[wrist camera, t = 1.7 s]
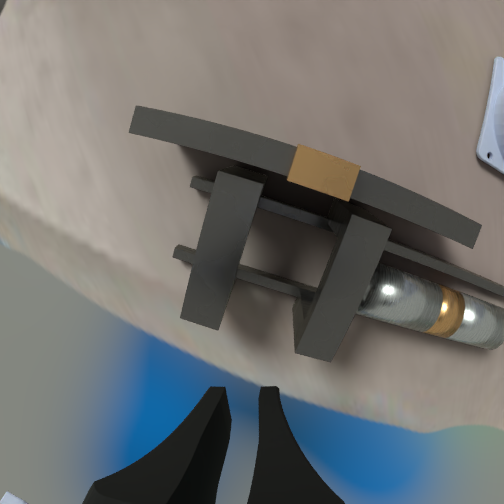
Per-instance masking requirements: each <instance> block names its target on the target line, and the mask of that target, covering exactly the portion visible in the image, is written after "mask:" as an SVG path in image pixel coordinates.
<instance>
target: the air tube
mask: <svg viewBox="0 0 504 504" xmlns="http://www.w3.org/2000/svg"><path fill="white" fill-rule="evenodd" d="M356 314H360V315H363V316H367V317H370V318H374V319H377V320H381V321H384V322H388V323H391V324H395V325H398V326H402V327H406V328H409V329H413V330H417V331H420V332H424V333H428V334H431V335H435V336H439V337H443V338H446V339H450V340H454V341H458V342H462V343H466V344H469V345H473V346H477V347H481V348H485V349H489V350H493V349H496V348H497V347H499V346H500V345H501V344H502V343H503V342H504V308H502V307H499V306H496V305H494V304H491V303H488V302H486V301H483V300H481V299H478V298H475V297H473V296H470V295H467V294H465V293H462V292H459V291H456V290H454V289H451V288H448V287H446V286H443V285H440V284H437V283H435V282H432V281H429V280H426V279H423V278H421V277H418V276H415V275H412V274H409V273H407V272H404V271H401V270H398V269H395V268H392V267H390V266H387V265H384V264H381V263H378V265H377V267H376V269H375V272H374V274H373V276H372V278H371V281H370V283H369V285H368V287H367V290H366V292H365V294H364V296H363V298H362V301H361V303H360V305H359V307H358V309H357V311H356Z"/></svg>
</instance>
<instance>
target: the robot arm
mask: <svg viewBox="0 0 504 504" xmlns="http://www.w3.org/2000/svg"><path fill="white" fill-rule="evenodd" d="M476 153H477V156H478V158H479V159H481V160H482V161H484V162H485V163H487V164H488V165H490V166H492V167H493V168H495V169H496V170H498V171H499V172H501V173H502V174H504V58H502V57H496V58H495V60H494V66H493V73H492V80H491V86H490V91H489V97H488V102H487V107H486V112H485V116H484V121H483V125H482V129H481V134H480V138H479V142H478V145H477V150H476ZM487 153H489V155H490V157H489V159H488V158H487ZM231 421H232V419H231V415H230V409H229V404H228V399H227V395H226V388H225V387H210V388H209V389H208V390H207V391H206V393H205V394H204V396H203V397H202V399H201V400H200V401H199V402H198V404H197V405H196V406H195V407H194V409H193V410H192V411H191V413H190V414H189V415H188V416H187V417H186V418H185V419H184V421H183V422H182V423H181V424H180V425H179V426H178V427H177V428H176V429H175V430H174V431H173V433H171V434H170V435H169V436H168V437H167V438H166V439H165V440H164V441H163V442H162V443H160V444H159V445H158V446H157V447H156V448H155V449H153V450H152V451H151V452H149V453H148V454H146V455H145V456H144V457H142V458H141V459H139V460H138V461H136V462H134V463H133V464H131V465H129V466H127V467H126V468H124V469H122V470H120V471H118V472H116V473H114V474H112V475H109V476H107V477H105V478H102V479H100V480H97V481H95V482H94V483H93V485H92V486H91V488H90V489H89V491H88V493H87V495H86V497H85V499H84V501H83V503H82V504H215V502H216V493H217V488H218V483H219V479H220V476H221V471H222V468H223V464H224V460H225V456H226V452H227V448H228V444H229V440H230V431H231ZM0 504H28V503H27V502H25V501H24V500H22V499H20V498H19V497H17V496H15V495H13V494H11V493H10V492H6V493H5V495H4V496H3V498H2V499H1V501H0ZM247 504H345V503H344V501H343V500H342V499H340V498H339V497H338V496H337V495H336V494H335V493H334V492H333V491H332V490H331V489H330V488H329V486H328V485H327V484H326V483H325V482H324V481H323V480H322V479H321V477H320V476H319V475H318V474H317V472H316V471H315V470H314V469H313V467H312V466H311V464H310V463H309V461H308V460H307V459H306V457H305V455H304V454H303V452H302V451H301V449H300V447H299V445H298V444H297V442H296V440H295V438H294V436H293V434H292V432H291V430H290V427H289V425H288V422H287V420H286V417H285V415H284V412H283V409H282V405H281V401H280V394H279V388H278V387H277V386H269V387H261V389H260V394H259V444H258V451H257V458H256V464H255V469H254V476H253V480H252V485H251V490H250V495H249V498H248V502H247Z"/></svg>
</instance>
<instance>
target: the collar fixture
mask: <svg viewBox="0 0 504 504" xmlns="http://www.w3.org/2000/svg"><path fill="white" fill-rule="evenodd" d="M129 133H132V134H136V135H141V136H145V137H149V138H154V139H158V140H162V141H166V142H170V143H174V144H178V145H182V146H186V147H190V148H194V149H197V150H201V151H205V152H208V153H212V154H216V155H219V156H223V157H226V158H230V159H233V160H237V161H240V162H243V163H247V164H250V165H253V166H257V167H260V168H263V169H266V170H270V171H273V172H276V173H279V174H282V175H285V176H287V181H290V182H293V183H296V184H299V185H302V186H305V187H308V188H311V189H314V190H317V191H320V192H323V193H326V194H329V195H331V196H334V197H337V198H340V199H343V200H345V201H348V202H349V199H350V198H352V199H354V200H357V201H360V202H362V203H365V204H368V205H370V206H373V207H375V208H378V209H381V210H383V211H386V212H388V213H391V214H393V215H396V216H398V217H401V218H403V219H405V220H408V221H410V222H413V223H415V224H417V225H420V226H422V227H425V228H427V229H429V230H432V231H434V232H436V233H438V234H441V235H443V236H445V237H447V238H450V239H452V240H454V241H456V242H459V243H461V244H463V245H465V246H467V247H469V248H472V249H473V247H474V245H475V242H476V240H477V237H478V234H479V232H480V229H481V226H482V225H481V224H479V223H477V222H475V221H473V220H471V219H469V218H467V217H465V216H463V215H461V214H459V213H457V212H455V211H453V210H451V209H449V208H447V207H445V206H443V205H441V204H439V203H437V202H435V201H432V200H430V199H428V198H426V197H424V196H422V195H419V194H417V193H415V192H413V191H410V190H408V189H406V188H404V187H401V186H399V185H397V184H394V183H392V182H389V181H387V180H385V179H382V178H380V177H377V176H375V175H372V174H370V173H367V172H365V171H362V170H360V167H361V166H359V165H356V164H353V163H351V162H348V161H345V160H343V159H340V158H337V157H335V156H332V155H329V154H326V153H324V152H321V151H318V150H315V149H312V148H309V147H306V146H303V145H300V144H298V145H297V147H296V146H292V145H289V144H286V143H283V142H280V141H277V140H274V139H270V138H267V137H264V136H260V135H257V134H253V133H250V132H247V131H243V130H239V129H236V128H232V127H228V126H225V125H221V124H217V123H213V122H209V121H205V120H201V119H197V118H193V117H189V116H184V115H180V114H175V113H171V112H166V111H162V110H157V109H152V108H147V107H142V106H136V107H135V111H134V115H133V118H132V122H131V126H130V130H129ZM267 177H268V175H264V174H261V173H258V172H255V171H251V170H248V169H245V168H241V167H238V166H235V165H234V166H231V167H228V168H225V169H221V170H218V172H217V176H216V179H215V181H213V180H209V179H206V178H202V177H199V176H193V177H192V180H191V184H190V187H192V188H195V189H199V190H202V191H205V192H209V193H211V197H210V201H209V204H208V208H207V212H206V215H205V219H204V223H203V227H202V230H201V234H200V238H199V242H198V246H197V250H194V249H191V248H188V247H185V246H182V245H178V246H177V247H175V249H174V254H173V258H176V259H179V260H183V261H186V262H189V263H192V264H193V266H192V270H191V274H190V278H189V282H188V286H187V290H186V294H185V299H184V303H183V307H182V312H181V316H180V318H182V319H184V320H187V321H190V322H193V323H196V324H199V325H202V326H205V327H208V328H212V329H215V330H219V327H220V324H221V321H222V318H223V315H224V312H225V309H226V306H227V304H228V301H229V298H230V295H231V292H232V289H233V286H234V282H235V279H236V278H238V279H242V280H245V281H248V282H251V283H254V284H257V285H261V286H264V287H267V288H270V289H274V290H277V291H280V292H283V293H287V294H290V295H293V296H297V298H296V300H295V303H294V305H293V308H292V310H293V328H294V347H295V353H297V354H300V355H304V356H308V357H312V358H316V359H320V360H324V361H328V362H331V361H332V359H333V357H334V355H335V353H336V351H337V349H338V347H339V345H340V343H341V342H342V340H343V338H344V336H345V334H346V332H347V330H348V328H349V326H350V324H351V322H352V319H353V317H354V315H355V314H356V311H357V309H358V307H359V305H360V303H361V301H362V298H363V296H364V294H365V292H366V290H367V287H368V285H369V283H370V281H371V278H372V276H373V274H374V272H375V269H376V267H377V265H378V262H379V260H380V257H381V255H382V253H383V250H385V251H388V252H390V253H393V254H396V255H399V256H401V257H404V258H407V259H409V260H412V261H415V262H417V263H420V264H423V265H425V266H428V267H431V268H433V269H436V270H439V271H441V272H444V273H446V274H449V275H451V276H454V277H456V278H459V279H462V280H464V281H467V282H469V283H472V284H474V285H477V286H479V287H481V288H484V289H486V290H489V291H491V292H494V293H496V294H499V295H501V296H503V297H504V286H502V285H500V284H498V283H495V282H493V281H491V280H489V279H486V278H484V277H482V276H479V275H477V274H475V273H472V272H470V271H468V270H465V269H463V268H460V267H458V266H456V265H453V264H451V263H448V262H446V261H443V260H441V259H439V258H436V257H434V256H431V255H429V254H426V253H424V252H421V251H418V250H416V249H413V248H411V247H408V246H406V245H403V244H400V243H398V242H395V241H392V240H390V239H388V238H389V235H390V233H391V230H392V229H391V228H390V227H388V226H387V225H386V224H384V223H383V222H382V221H380V220H379V219H378V218H376V217H375V216H374V215H372V214H371V213H370V212H368V211H367V210H366V209H364V208H361V207H358V206H355V205H353V204H350V203H347V202H345V201H342V200H339V199H336V198H334V199H333V202H332V205H331V208H330V210H329V213H328V216H327V217H326V216H323V215H320V214H317V213H314V212H311V211H308V210H305V209H302V208H299V207H296V206H293V205H290V204H287V203H284V202H281V201H278V200H275V199H272V198H268V197H265V196H262V193H263V190H264V186H265V183H266V180H267ZM257 207H258V208H261V209H264V210H267V211H270V212H273V213H277V214H280V215H283V216H286V217H289V218H292V219H295V220H298V221H301V222H304V223H307V224H310V225H313V226H316V227H319V228H322V229H325V230H328V231H331V232H334V234H335V235H336V237H337V240H336V243H335V246H334V248H333V251H332V253H331V256H330V258H329V261H328V264H327V266H326V269H325V271H324V274H323V276H322V278H321V281H320V283H319V286H318V288H315V287H312V286H309V285H305V284H302V283H299V282H296V281H293V280H289V279H286V278H283V277H280V276H276V275H273V274H270V273H267V272H264V271H260V270H257V269H254V268H251V267H248V266H245V265H241V264H239V263H240V259H241V256H242V253H243V250H244V246H245V243H246V240H247V237H248V234H249V230H250V227H251V224H252V221H253V218H254V214H255V211H256V209H257ZM358 315H360V314H358ZM361 316H363V315H361ZM365 317H367V316H365ZM368 318H370V317H368ZM372 319H374V318H372ZM375 320H377V319H375ZM379 321H381V320H379ZM382 322H384V321H382ZM386 323H388V322H386ZM389 324H391V323H389ZM393 325H395V324H393ZM397 326H398V325H397ZM400 327H402V326H400ZM404 328H406V327H404ZM407 329H409V328H407ZM411 330H413V329H411ZM415 331H417V330H415ZM418 332H420V331H418ZM422 333H424V332H422ZM426 334H428V333H426ZM430 335H431V334H430ZM433 336H435V335H433ZM437 337H439V336H437ZM441 338H443V337H441ZM445 339H446V338H445ZM448 340H450V339H448ZM452 341H454V340H452ZM456 342H458V341H456ZM460 343H462V342H460ZM464 344H466V343H464ZM468 345H469V344H468ZM472 346H473V345H472ZM476 347H477V346H476ZM479 348H481V347H479ZM483 349H484V348H483Z"/></svg>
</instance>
